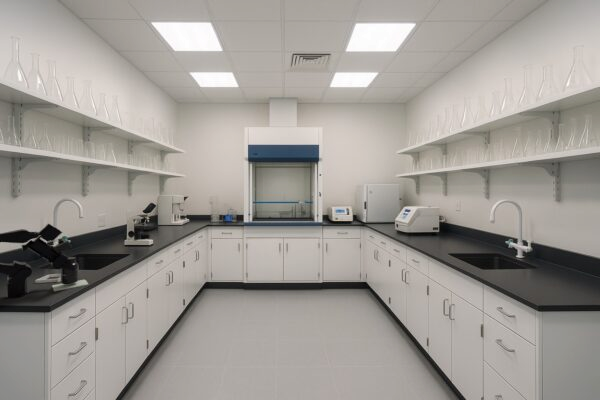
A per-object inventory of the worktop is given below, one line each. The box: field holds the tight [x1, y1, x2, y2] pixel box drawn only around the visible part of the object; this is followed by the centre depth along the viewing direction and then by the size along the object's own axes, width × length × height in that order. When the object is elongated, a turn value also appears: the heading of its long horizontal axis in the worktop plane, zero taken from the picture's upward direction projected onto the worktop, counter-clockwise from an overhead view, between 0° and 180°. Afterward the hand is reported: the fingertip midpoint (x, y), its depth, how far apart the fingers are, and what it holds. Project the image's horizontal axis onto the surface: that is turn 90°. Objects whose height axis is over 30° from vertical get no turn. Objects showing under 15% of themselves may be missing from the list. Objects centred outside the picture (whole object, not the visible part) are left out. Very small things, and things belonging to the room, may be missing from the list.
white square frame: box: [35, 273, 61, 284], centre depth 152 cm, size 10×10×2 cm
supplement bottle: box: [60, 256, 79, 284], centre depth 141 cm, size 7×7×12 cm
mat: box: [51, 279, 89, 292], centre depth 142 cm, size 13×10×1 cm
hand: (73, 268), depth 142 cm, fingers closed on supplement bottle, 7 cm apart
